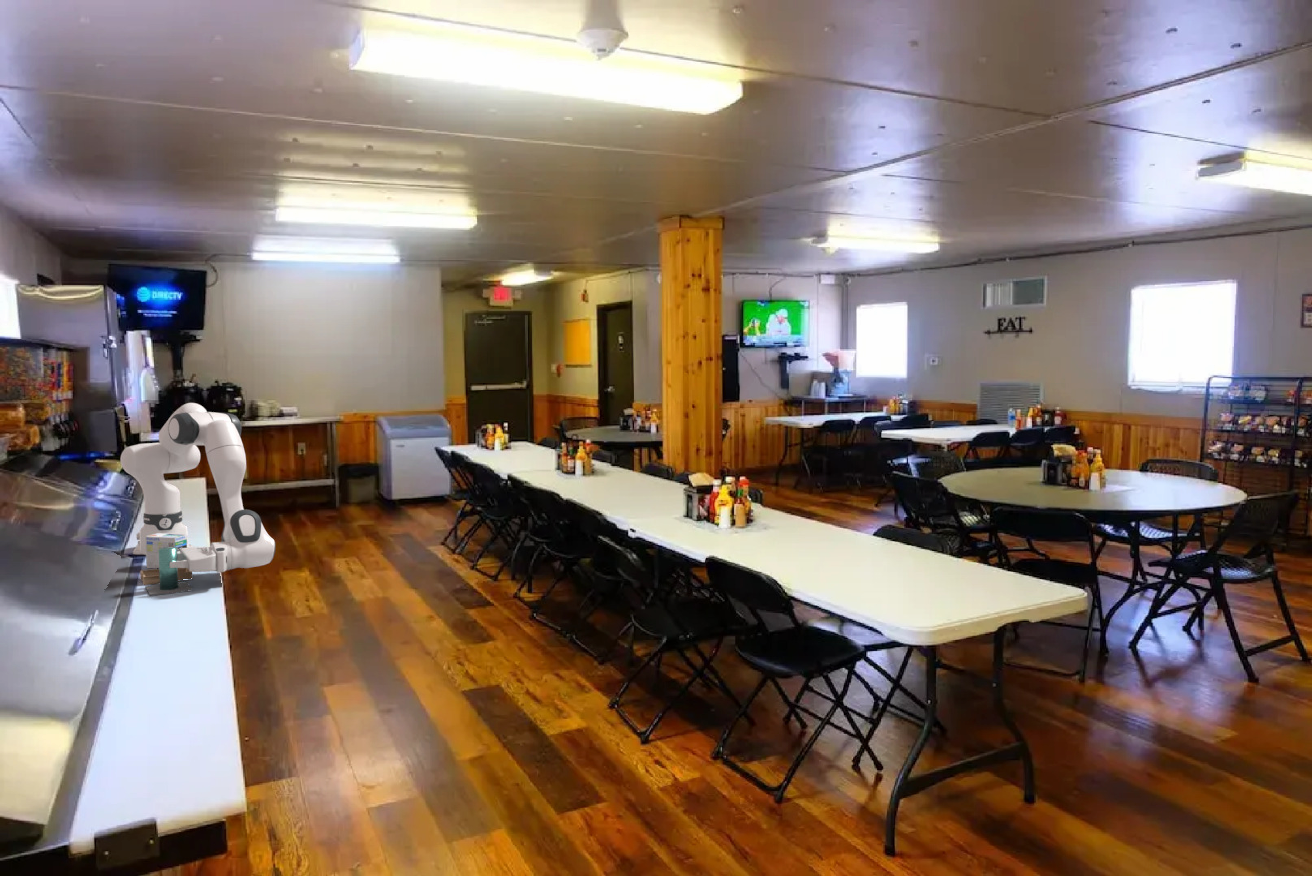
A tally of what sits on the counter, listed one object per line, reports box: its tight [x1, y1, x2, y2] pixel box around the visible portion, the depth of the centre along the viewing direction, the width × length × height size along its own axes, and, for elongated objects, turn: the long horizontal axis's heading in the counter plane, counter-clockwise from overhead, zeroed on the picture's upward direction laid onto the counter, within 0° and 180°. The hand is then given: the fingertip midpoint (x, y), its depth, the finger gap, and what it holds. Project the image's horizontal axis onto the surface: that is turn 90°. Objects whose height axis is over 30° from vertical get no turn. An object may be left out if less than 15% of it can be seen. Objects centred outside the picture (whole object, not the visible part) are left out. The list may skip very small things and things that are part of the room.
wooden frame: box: [139, 568, 193, 586], centre depth 268 cm, size 10×13×2 cm
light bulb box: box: [145, 533, 189, 569], centre depth 284 cm, size 11×7×11 cm, turn 84°
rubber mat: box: [144, 582, 193, 597], centre depth 256 cm, size 11×11×1 cm
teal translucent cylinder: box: [158, 547, 179, 590], centre depth 256 cm, size 5×5×12 cm
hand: (167, 561), depth 256 cm, fingers open, 8 cm apart
